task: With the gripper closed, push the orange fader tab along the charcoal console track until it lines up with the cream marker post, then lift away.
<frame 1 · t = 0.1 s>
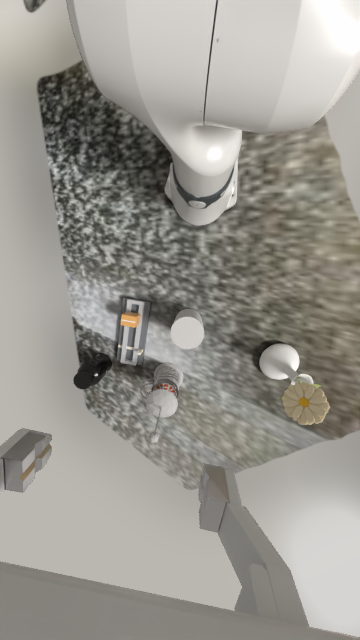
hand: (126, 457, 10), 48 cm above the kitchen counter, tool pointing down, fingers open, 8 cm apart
french press: (165, 375, 62), on the kitchen counter
supplement bottle: (102, 362, 62), on the kitchen counter
console: (134, 331, 59), on the kitchen counter
flower in vase: (273, 359, 58), on the kitchen counter
fader: (131, 319, 53), point 5 cm above the kitchen counter, slide at 0.0 cm
light grey cylinder: (188, 321, 57), on the kitchen counter
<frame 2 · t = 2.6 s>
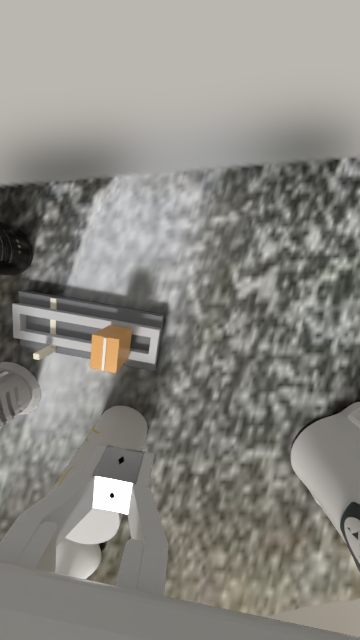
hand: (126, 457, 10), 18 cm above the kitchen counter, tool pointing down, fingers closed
french press: (14, 383, 31), on the kitchen counter
supplement bottle: (12, 250, 26), on the kitchen counter
console: (93, 328, 28), on the kitchen counter
flower in vase: (76, 535, 38), on the kitchen counter
fader: (114, 345, 23), point 5 cm above the kitchen counter, slide at 0.0 cm
light grey cylinder: (123, 426, 31), on the kitchen counter
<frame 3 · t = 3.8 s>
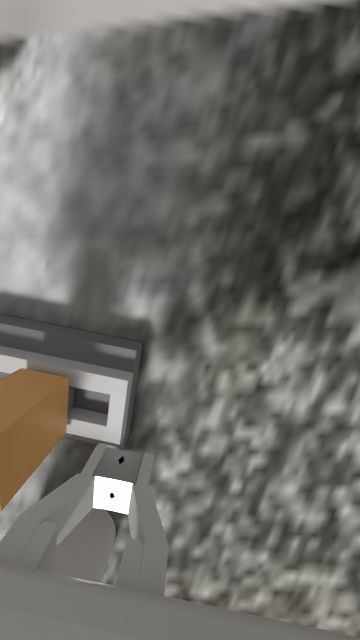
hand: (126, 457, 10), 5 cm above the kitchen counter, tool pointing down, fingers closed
console: (12, 364, 15), on the kitchen counter
fader: (21, 420, 10), point 5 cm above the kitchen counter, slide at 0.0 cm
light grey cylinder: (76, 522, 19), on the kitchen counter
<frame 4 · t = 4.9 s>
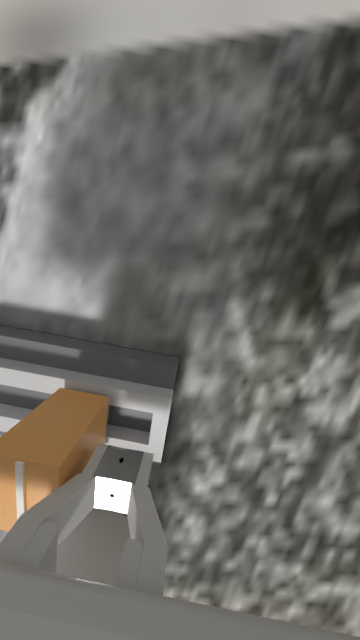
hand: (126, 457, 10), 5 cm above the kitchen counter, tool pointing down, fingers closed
console: (44, 381, 15), on the kitchen counter
fader: (65, 442, 10), point 5 cm above the kitchen counter, slide at 0.2 cm, touching gripper
light grey cylinder: (105, 537, 18), on the kitchen counter
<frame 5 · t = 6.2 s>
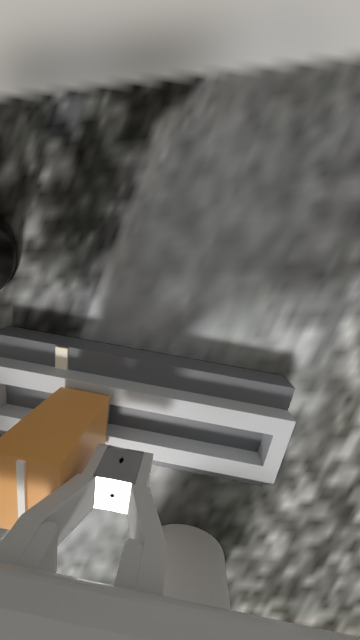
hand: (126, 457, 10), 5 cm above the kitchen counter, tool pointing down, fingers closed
console: (138, 398, 15), on the kitchen counter
fader: (66, 441, 10), point 5 cm above the kitchen counter, slide at 7.7 cm, touching gripper
light grey cylinder: (181, 552, 18), on the kitchen counter
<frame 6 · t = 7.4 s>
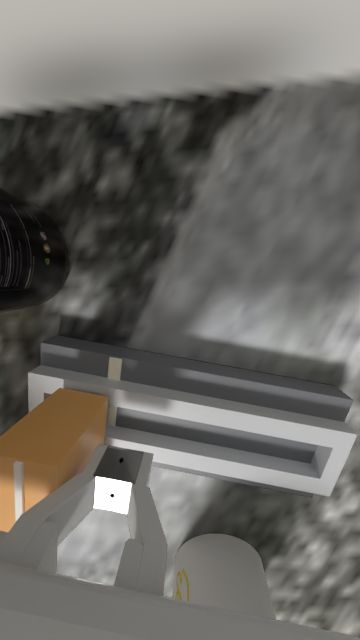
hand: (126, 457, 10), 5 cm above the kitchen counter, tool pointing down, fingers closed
supplement bottle: (27, 256, 13), on the kitchen counter
console: (184, 408, 14), on the kitchen counter
fader: (64, 443, 10), point 5 cm above the kitchen counter, slide at 11.3 cm, touching gripper
light grey cylinder: (217, 562, 18), on the kitchen counter
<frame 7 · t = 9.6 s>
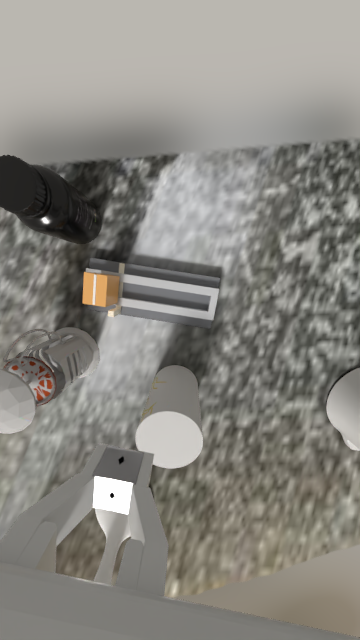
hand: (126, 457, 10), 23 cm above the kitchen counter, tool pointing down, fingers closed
french press: (74, 348, 34), on the kitchen counter
supplement bottle: (81, 222, 29), on the kitchen counter
console: (153, 293, 31), on the kitchen counter
flower in vase: (124, 495, 41), on the kitchen counter
fader: (103, 288, 27), point 5 cm above the kitchen counter, slide at 11.3 cm
light grey cylinder: (175, 385, 35), on the kitchen counter
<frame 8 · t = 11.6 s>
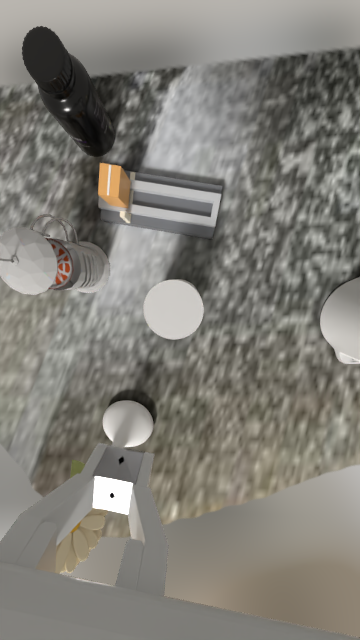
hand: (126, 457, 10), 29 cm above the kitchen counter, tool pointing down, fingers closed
french press: (86, 263, 37), on the kitchen counter
supplement bottle: (96, 136, 32), on the kitchen counter
console: (160, 206, 34), on the kitchen counter
flower in vase: (129, 414, 44), on the kitchen counter
fader: (116, 189, 29), point 5 cm above the kitchen counter, slide at 11.3 cm
light grey cylinder: (179, 300, 37), on the kitchen counter
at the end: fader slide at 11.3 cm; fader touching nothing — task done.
